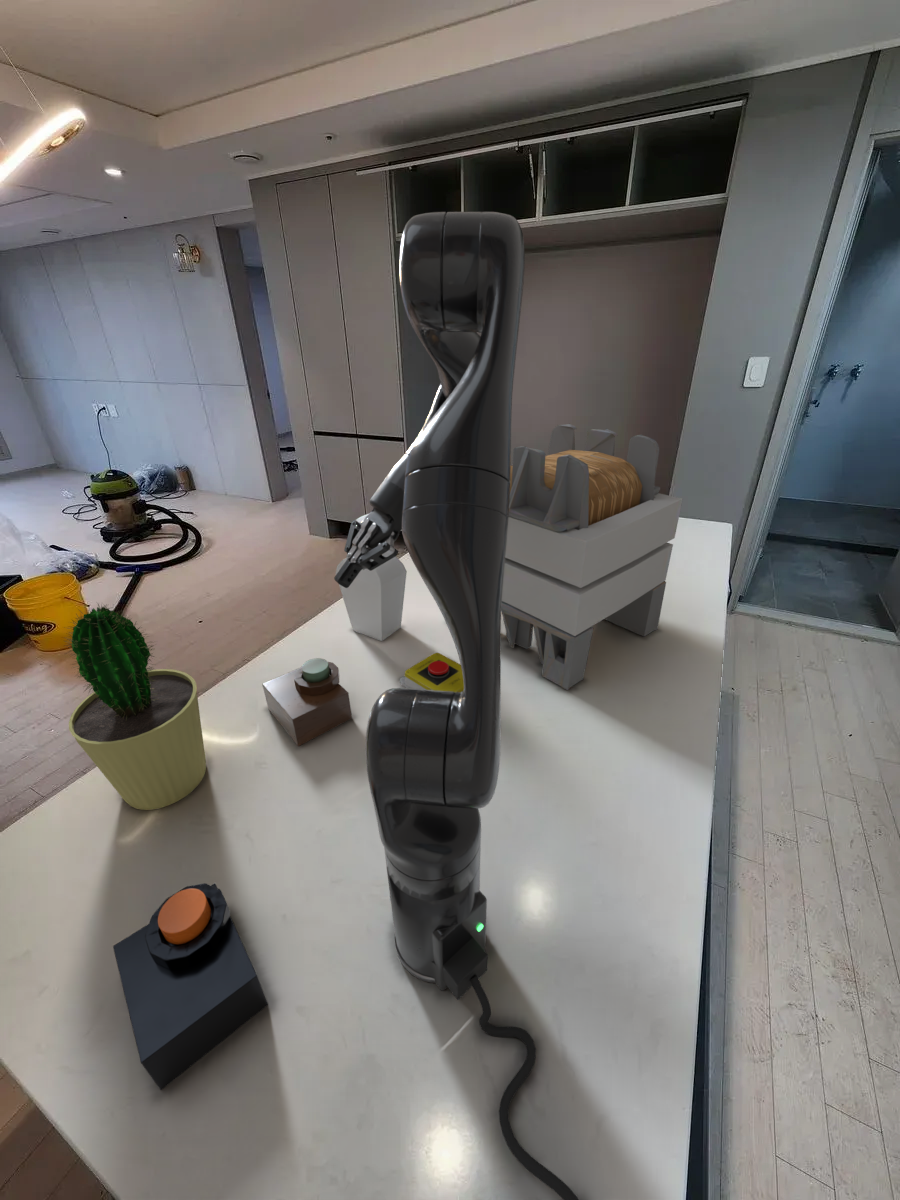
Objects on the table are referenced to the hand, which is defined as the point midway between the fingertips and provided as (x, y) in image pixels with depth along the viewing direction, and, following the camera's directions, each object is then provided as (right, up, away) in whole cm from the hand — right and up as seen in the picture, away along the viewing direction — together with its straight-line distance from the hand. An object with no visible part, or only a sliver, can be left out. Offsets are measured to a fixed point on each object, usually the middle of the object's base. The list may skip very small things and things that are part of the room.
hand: (340, 584), depth 78 cm
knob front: (-10, -35, -27) cm, 45 cm away
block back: (-8, -22, +11) cm, 26 cm away
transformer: (+39, -8, +35) cm, 53 cm away
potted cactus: (-26, -30, -1) cm, 39 cm away
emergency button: (+16, -19, +16) cm, 29 cm away
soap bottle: (+1, -9, +35) cm, 37 cm away
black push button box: (-9, -43, -26) cm, 51 cm away
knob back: (-6, -15, +9) cm, 19 cm away
